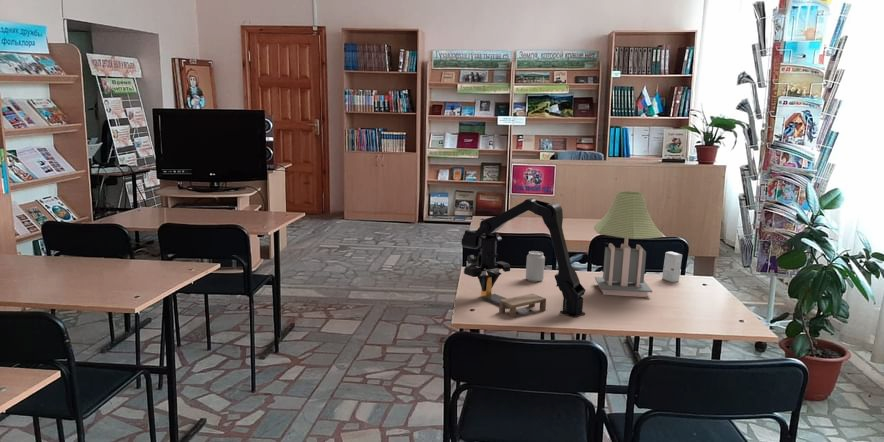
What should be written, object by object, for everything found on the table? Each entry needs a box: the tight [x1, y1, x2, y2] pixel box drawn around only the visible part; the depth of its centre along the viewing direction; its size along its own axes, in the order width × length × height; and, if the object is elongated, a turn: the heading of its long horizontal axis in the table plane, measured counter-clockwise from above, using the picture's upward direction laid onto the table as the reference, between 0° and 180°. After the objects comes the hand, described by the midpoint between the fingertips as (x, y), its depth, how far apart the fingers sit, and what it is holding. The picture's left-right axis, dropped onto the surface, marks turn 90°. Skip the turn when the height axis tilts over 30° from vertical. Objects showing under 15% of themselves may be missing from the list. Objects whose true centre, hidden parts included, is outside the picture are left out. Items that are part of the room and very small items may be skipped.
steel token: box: [516, 307, 534, 316], centre depth 227 cm, size 5×5×1 cm
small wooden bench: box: [498, 293, 547, 319], centre depth 227 cm, size 7×16×4 cm, turn 126°
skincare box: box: [661, 251, 683, 283], centre depth 277 cm, size 6×4×12 cm
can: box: [525, 250, 546, 283], centre depth 269 cm, size 8×8×12 cm
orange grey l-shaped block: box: [480, 276, 510, 310], centre depth 238 cm, size 16×6×8 cm, turn 36°
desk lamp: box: [593, 190, 663, 298], centre depth 255 cm, size 26×28×40 cm
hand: (486, 290), depth 243 cm, fingers closed on orange grey l-shaped block, 2 cm apart
